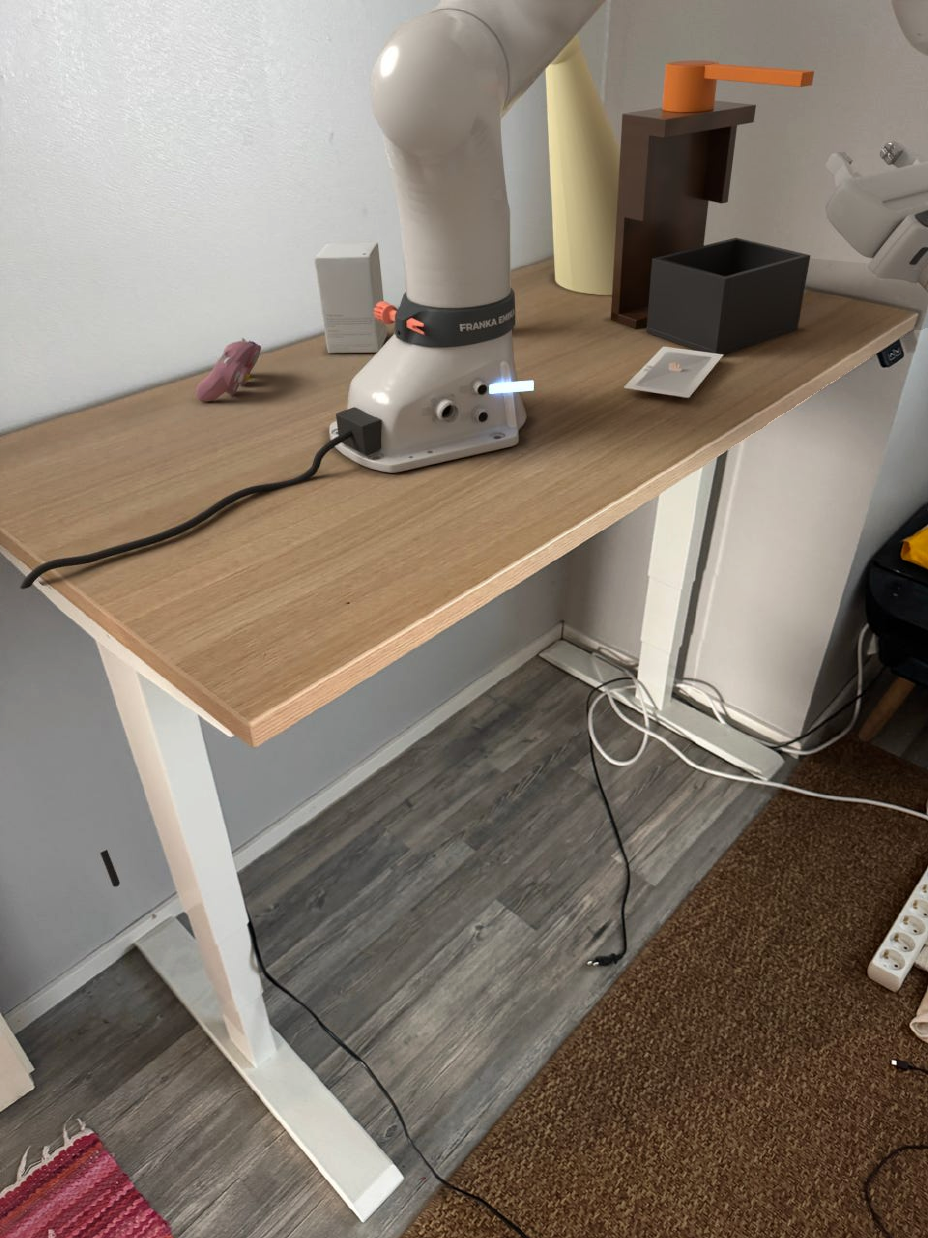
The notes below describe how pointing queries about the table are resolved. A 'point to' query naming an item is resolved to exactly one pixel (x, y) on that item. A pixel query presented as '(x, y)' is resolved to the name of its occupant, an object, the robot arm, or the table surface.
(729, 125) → the shelf stand
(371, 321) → the white packaging box
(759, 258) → the basket
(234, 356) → the video game controller
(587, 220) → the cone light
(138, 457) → the table surface
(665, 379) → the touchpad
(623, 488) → the table surface
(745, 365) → the table surface
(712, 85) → the orange croquet mallet
